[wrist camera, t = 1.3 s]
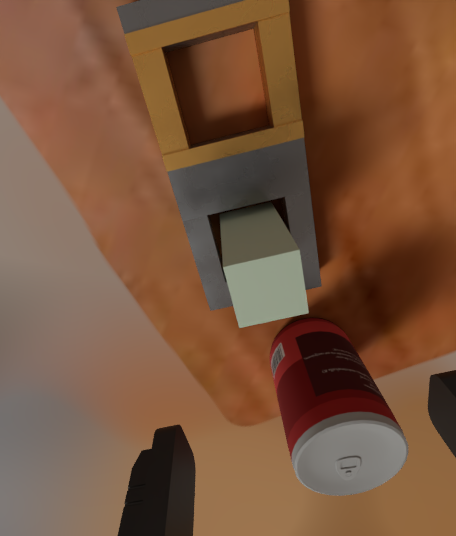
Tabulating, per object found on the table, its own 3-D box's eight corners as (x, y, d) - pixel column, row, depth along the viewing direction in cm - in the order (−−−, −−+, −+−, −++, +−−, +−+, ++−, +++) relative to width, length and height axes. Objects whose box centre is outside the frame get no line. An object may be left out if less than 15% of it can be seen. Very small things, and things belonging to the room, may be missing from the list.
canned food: (285, 390, 34) (315, 508, 24) (254, 334, 30) (274, 445, 20) (357, 363, 32) (420, 476, 23) (333, 302, 29) (396, 404, 19)
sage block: (271, 201, 25) (299, 249, 17) (279, 249, 26) (308, 313, 18) (219, 214, 25) (223, 267, 17) (231, 260, 27) (239, 328, 19)
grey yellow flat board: (276, -27, 19) (283, -43, 17) (314, 274, 28) (322, 287, 26) (125, 15, 19) (115, 6, 17) (210, 297, 28) (210, 312, 26)
